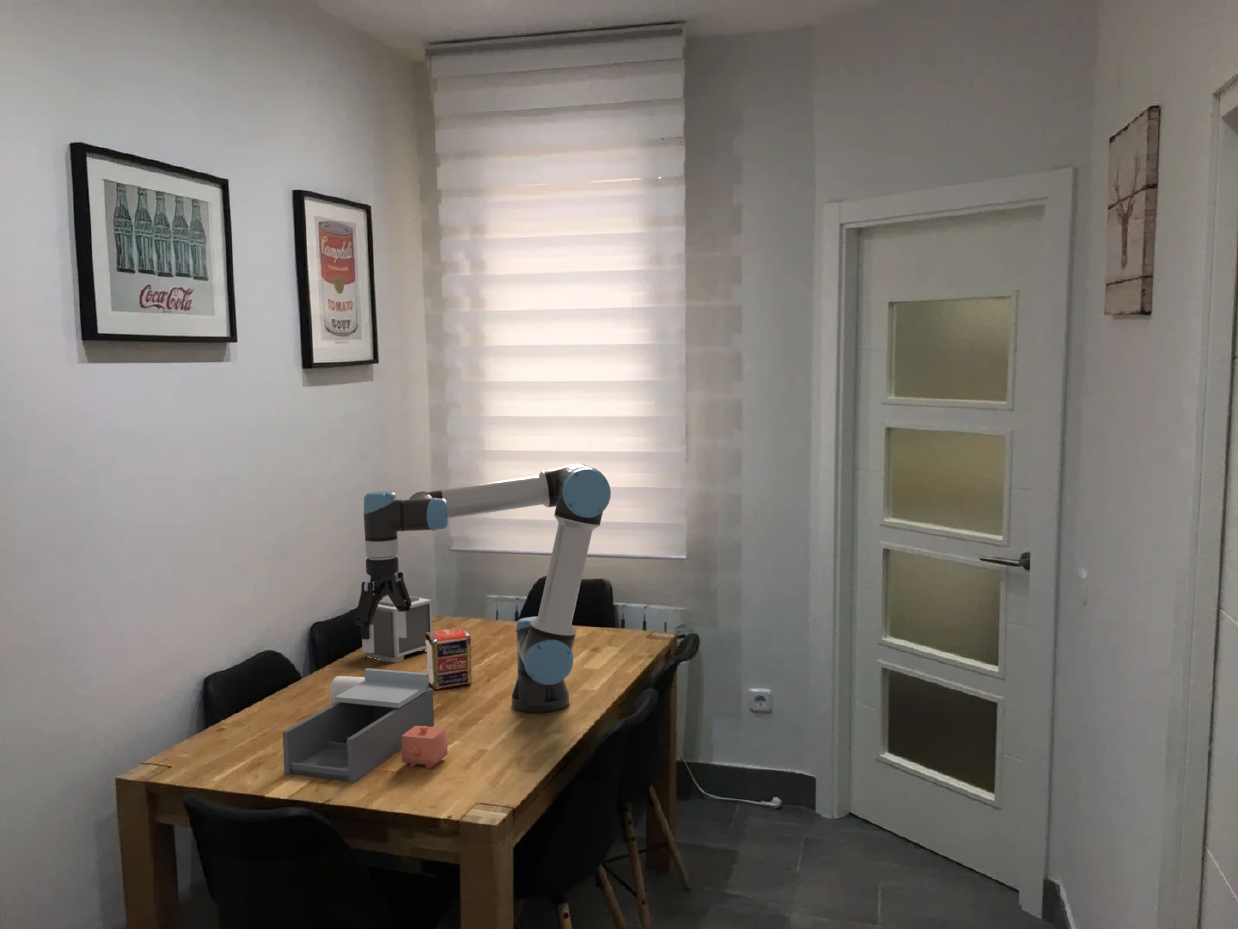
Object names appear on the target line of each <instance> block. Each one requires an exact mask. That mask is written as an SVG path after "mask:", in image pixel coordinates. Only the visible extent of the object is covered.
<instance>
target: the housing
mask: <svg viewBox="0 0 1238 929" xmlns="http://www.w3.org/2000/svg"><path fill="white" fill-rule="evenodd" d="M434 711H435V710H434V688H431V687H429V690H427V691H426V692H424V693H422V694H421V695H419V696H418V697H416V698H414V699H413V700H411V701H410V702H408V703H407V704H405V705H403V706H402V707H400V708H393V707H383V706H373V705H363V704H353V703H343V702H336V703H334V704H330V705H328V706H326V707H325V708H323V709H320V710H319V711H317V712H316V713H314V714H312V715H310V716H309V717H307V718H305V719H303V720H301V721H299V722H297V723H296V724H294V725H293V726H290V727H289V728H287V729H285V730H283V731H282V747H283V748H282V750H283V765H284V766H283V768H284V771H283V772H284V774H285V775H298V776H306V777H314V778H323V779H328V780H329V779H331V780H338V781H346V782H348V783H352V784H353V783H356V782H357V781H358V780H360V779H362V778H363V777H364V776H366V775H367V774H369V773H370V772H371V771H373V770H374V769H375V768H377V767H378V766H380V765H381V764H382V763H384V762H386V760H388V759H389V758H391V757H392V756H394V755H395V754H397V753H398V752H399V751H402V747H401V736H402V735H403V734H405V733H406V732H407V731H409V730H410V729H412V728H413V727H414V726H428V727H432V726H434V727H435V718H434V717H435V715H434ZM344 741H346V742H344Z"/></svg>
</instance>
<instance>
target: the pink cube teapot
mask: <svg viewBox="0 0 1238 929" xmlns="http://www.w3.org/2000/svg"><path fill="white" fill-rule="evenodd" d="M447 732H448V731H447V728H444V727H439V726H435V725H434V726H432V727H428V726H414V727H413V728H412V729H410V730H409V731H407V732H406V733H405V734H403V735H402V736H401V747H402V749H401V763H405V764H408V766H409V767H416V766H417V765H425V766H424V767H425V769H431V768H433V767H434V766H436V765H437V764H438V763H439V762H441V761H442V759H444V758H445V757H446V756H447V755H448V733H447Z"/></svg>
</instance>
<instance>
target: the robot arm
mask: <svg viewBox="0 0 1238 929" xmlns="http://www.w3.org/2000/svg"><path fill="white" fill-rule="evenodd" d="M611 491H612V490H611V487H610V484H609V481H608V480H607V478H606V477H605V475H604V474H603V473H602V472H601V471H600V470H598V469H597V468H593V467H591V466H588V465H586V464H584V463H583V464H582V463H572V464H568V465H564V466H561V467H557V468H551V469H545V470H541V471H540V473H539V474H538V475H534V476H533V475H532V476H526V477H520V478H513V479H505V480H500V481H493V482H487V483H486V482H485V483H479V484H478V483H477V484H473V485H465V486H460V487H453V488H447V489H440V490H434V491H425V490H424V491H423V490H422V491H418V492H415V493H414V494H412V495H411V496H410V497H409V499H398V498H397V495H396V492H394V491H384V490H383V491H371V492H368V493H366V494H365V495H364V497H363V526H364V541H365V542H364V543H365V556H366V557H367V558H366V560H365V572H366V575H368V576H369V577H370V580H369V581H362V582H361V586H360V588H361V589H360V596H359V600H358V604H357V609H356V613H355V617H354V620H353V623H354V624H355V625H357V626H360V634H361V642H362V643H361V645H362V649H361V650H362V652H363V653H366V652H368V653H374V631H373V625H371V622H372V619H373V617H374V614H375V612H376V609H377V606H378V604H379V601H380V600H382V599H383V598H385V597H387V596H389V598H390V599H391V601H392V602H393V604H394V605H395V607H396V609H397V610H398V611H395V634H396V637H399V638H406V637H407V631H406V611H409V610H410V606H411V604H412V603H411V600H410V597H409V596H410V595H409V591H408V589H407V586H406V583H405V581H404V579H405V578H404V573H403V572H402V571H399V570H400V569H399V558H398V555H399V542H398V541H399V540H398V532H414V531H415V532H416V531H433V532H434V531H436V530H438V531H439V530H445V529H446V528H447V527H448V524H449V522H448V521H449V520H448V519H454V518H462V517H469V516H475V515H481V514H488V513H494V512H503V511H507V510H508V511H509V510H515V509H521V508H529V507H536V506H539V505H540V506H541V505H543V506H544V507H546V508H548V509H549V508H553V507H555V509H554V513H553V514H554V515H553V516H554V518H555V519H556V520H557V523H558V525H557V528H556V529H557V530H556V533H555V537H554V542H553V547H552V552H551V556H550V561H549V566H548V569H547V574H546V579H545V582H544V583H545V584H544V588H543V593H542V596H541V601H540V605H539V610H538V614H537V616H530V617H529V616H528V617H523V618H520V619H518V620H517V621H516V629H515V633H516V660H517V663H516V664H517V678H516V679H515V684H514V688H513V691H512V694H511V706H512V707H513V708H514V709H515V710H516V711H521V712H525V713H533V714H534V713H536V714H537V713H549V712H550V713H551V712H554V711H559V710H562V709H564V708H566V707H567V706H569V704H570V693H569V691H568V690H569V689H568V687H567V684H566V681H565V679H566V678H567V677H568V676H569V675H570V673H571V671H572V670H573V666H574V654H573V646H574V643H575V638H576V635H577V634H576V633H577V632H576V630H575V628H574V626H573V624H572V623H573V621H574V620H573V619H574V614H575V610H576V607H577V601H578V596H579V592H580V587H581V582H582V578H583V574H584V570H585V565H586V562H587V561H586V560H587V557H588V552H589V548H590V543H591V539H592V534H593V531H594V530H595V529H598V527H600V526H601V522H602V517H603V514H604V512H605V510H606V508H607V507H608V505H609V504H610V501H611V493H612V492H611ZM404 600H406V601H404Z"/></svg>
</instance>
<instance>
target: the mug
mask: <svg viewBox="0 0 1238 929" xmlns="http://www.w3.org/2000/svg"><path fill="white" fill-rule="evenodd" d="M363 681H365V676H346V675H345V676H344V675H343V676H342V675H337V676H335V677H334V678H333V680H332V681H331V684H330V687H329V693H328V694H329V696H328V697H329V702H330V705H332V704H334V703H336V702H335V697H336V696H337V695H339V694H341V693H343V692H345V691H347V690H348V689H350V688H352V687H354V686H356V685H358V684H360V683H361V682H363Z"/></svg>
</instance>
